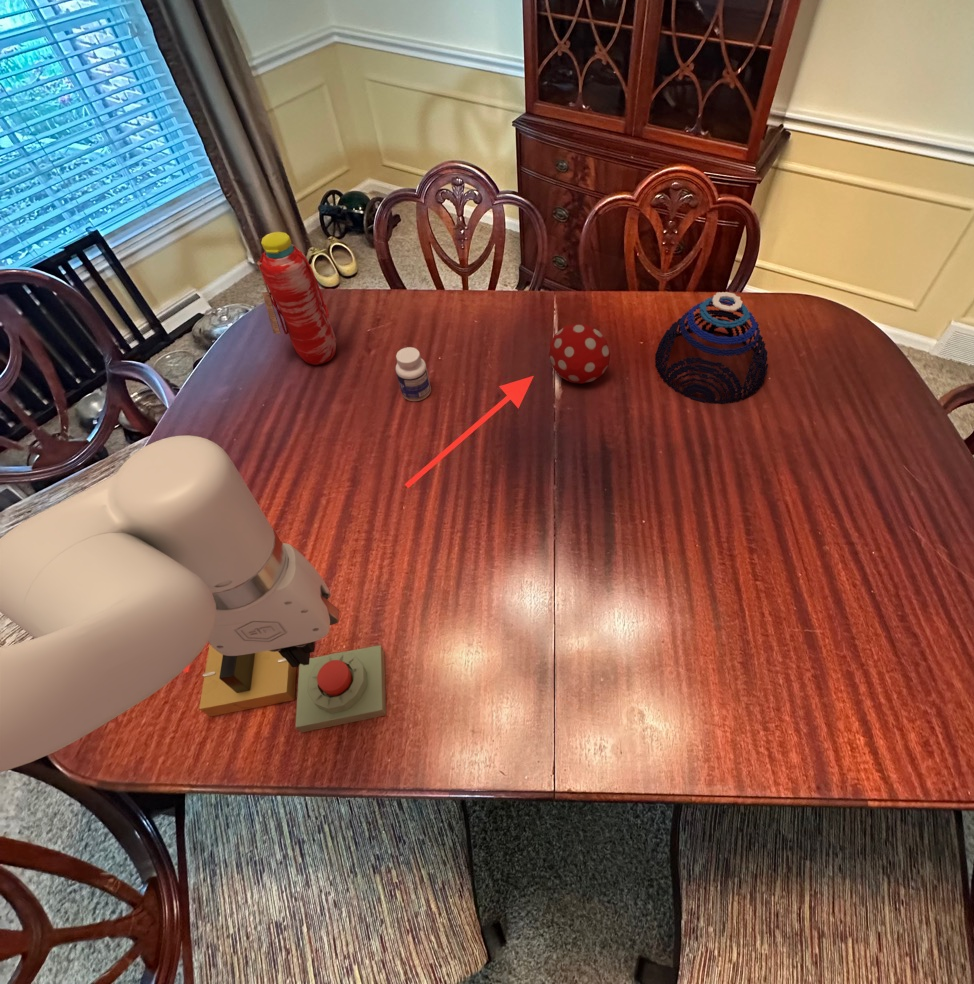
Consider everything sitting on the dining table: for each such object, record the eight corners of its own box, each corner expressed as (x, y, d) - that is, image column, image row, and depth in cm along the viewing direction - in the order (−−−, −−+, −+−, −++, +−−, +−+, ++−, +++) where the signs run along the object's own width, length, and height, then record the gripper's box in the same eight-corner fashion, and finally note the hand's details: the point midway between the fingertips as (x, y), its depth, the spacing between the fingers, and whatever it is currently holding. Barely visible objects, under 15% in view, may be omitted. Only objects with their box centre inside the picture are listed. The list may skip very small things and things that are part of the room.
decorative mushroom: (549, 322, 116) (531, 348, 103) (600, 296, 112) (588, 320, 99) (576, 371, 120) (562, 402, 107) (626, 348, 115) (618, 377, 102)
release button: (320, 698, 70) (316, 693, 69) (321, 668, 73) (317, 663, 71) (351, 692, 71) (348, 687, 69) (352, 662, 73) (348, 657, 72)
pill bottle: (400, 384, 110) (390, 347, 103) (429, 379, 110) (421, 341, 104) (403, 404, 106) (393, 367, 99) (432, 399, 107) (425, 362, 100)
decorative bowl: (641, 385, 109) (652, 321, 98) (670, 320, 120) (682, 257, 109) (754, 416, 103) (778, 352, 92) (772, 345, 115) (795, 281, 104)
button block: (301, 732, 71) (289, 722, 68) (304, 666, 76) (294, 654, 73) (386, 715, 72) (379, 705, 69) (384, 651, 78) (377, 638, 74)
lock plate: (208, 717, 73) (197, 709, 70) (218, 653, 78) (208, 643, 75) (295, 700, 74) (286, 691, 71) (299, 637, 79) (291, 628, 76)
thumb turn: (250, 690, 72) (232, 675, 68) (236, 693, 71) (218, 677, 67) (256, 642, 75) (240, 625, 71) (243, 644, 75) (226, 627, 71)
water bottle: (274, 368, 113) (218, 249, 94) (288, 340, 118) (238, 222, 99) (337, 371, 112) (293, 251, 93) (349, 343, 117) (309, 224, 98)
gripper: (124, 622, 46) (222, 703, 59) (327, 587, 47) (375, 673, 61) (147, 538, 50) (232, 631, 64) (330, 510, 52) (374, 606, 66)
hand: (302, 652), depth 63 cm, fingers closed
